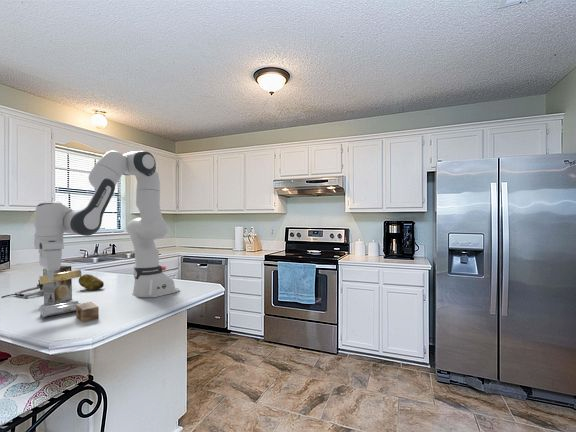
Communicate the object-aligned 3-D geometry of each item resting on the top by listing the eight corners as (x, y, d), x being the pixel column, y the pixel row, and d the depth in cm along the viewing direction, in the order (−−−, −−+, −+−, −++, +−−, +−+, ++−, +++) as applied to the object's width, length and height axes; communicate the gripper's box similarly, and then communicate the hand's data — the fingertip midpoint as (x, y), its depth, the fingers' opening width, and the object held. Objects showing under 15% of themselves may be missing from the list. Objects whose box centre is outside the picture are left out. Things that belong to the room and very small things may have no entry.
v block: (76, 312, 128) (76, 300, 128) (81, 316, 123) (81, 303, 123) (40, 319, 120) (40, 306, 120) (43, 324, 115) (43, 310, 115)
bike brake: (49, 287, 170) (2, 301, 153) (46, 275, 169) (-1, 288, 152) (61, 290, 163) (13, 306, 146) (58, 278, 162) (10, 292, 145)
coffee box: (61, 298, 150) (61, 265, 150) (72, 299, 149) (72, 265, 149) (43, 303, 141) (42, 268, 141) (54, 304, 140) (54, 269, 140)
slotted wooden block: (91, 316, 122) (91, 301, 122) (98, 322, 115) (98, 306, 115) (76, 320, 119) (76, 304, 119) (83, 326, 112) (82, 309, 112)
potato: (90, 292, 162) (90, 277, 162) (75, 289, 168) (75, 275, 168) (105, 288, 169) (105, 274, 169) (91, 286, 175) (91, 272, 175)
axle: (79, 276, 127) (79, 269, 127) (81, 277, 125) (81, 269, 125) (39, 283, 118) (39, 276, 118) (41, 284, 116) (40, 276, 116)
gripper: (34, 242, 124) (34, 277, 124) (43, 245, 110) (43, 284, 110) (54, 241, 128) (54, 274, 128) (64, 244, 114) (64, 281, 114)
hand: (49, 279), depth 119 cm, fingers closed on axle, 3 cm apart
